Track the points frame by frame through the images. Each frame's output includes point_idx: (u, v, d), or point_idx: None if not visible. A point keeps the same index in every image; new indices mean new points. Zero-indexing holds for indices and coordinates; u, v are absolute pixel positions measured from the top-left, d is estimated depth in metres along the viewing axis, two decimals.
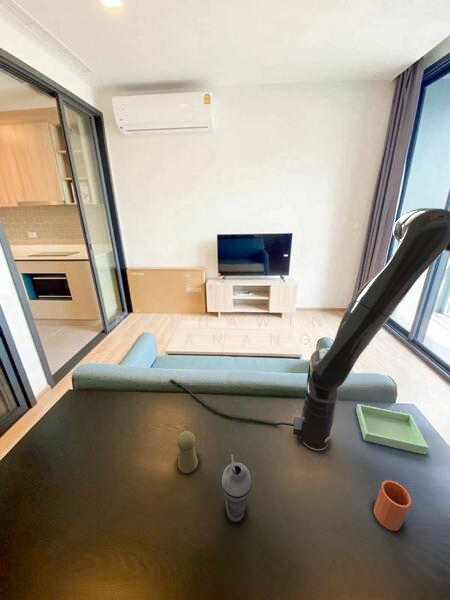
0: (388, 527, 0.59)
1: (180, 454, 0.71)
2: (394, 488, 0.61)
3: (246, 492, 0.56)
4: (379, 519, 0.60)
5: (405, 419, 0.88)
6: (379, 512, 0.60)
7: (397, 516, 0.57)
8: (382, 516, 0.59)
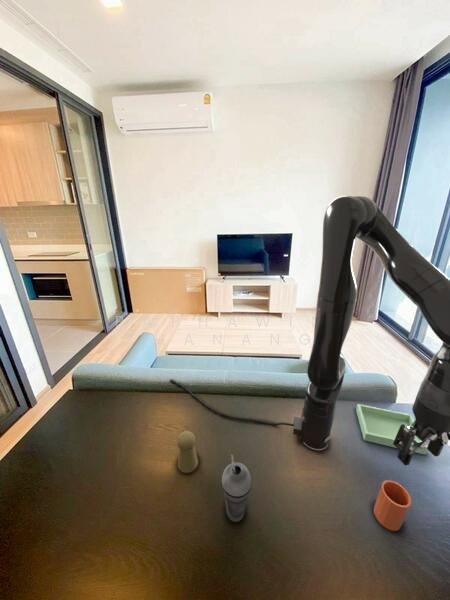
0: (388, 527, 0.59)
1: (180, 454, 0.71)
2: (394, 488, 0.61)
3: (246, 492, 0.56)
4: (379, 519, 0.60)
5: (405, 419, 0.88)
6: (379, 512, 0.60)
7: (397, 516, 0.57)
8: (382, 516, 0.59)
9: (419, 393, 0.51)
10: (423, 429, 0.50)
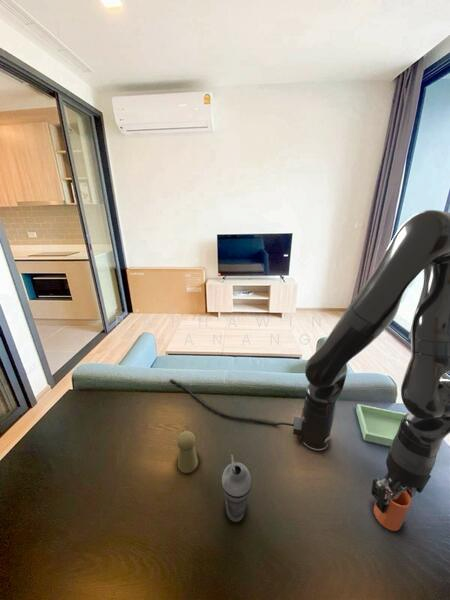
0: (388, 527, 0.59)
1: (180, 454, 0.71)
2: None
3: (246, 492, 0.56)
4: (379, 519, 0.60)
5: None
6: (379, 512, 0.60)
7: (397, 516, 0.57)
8: (382, 516, 0.59)
9: (391, 448, 0.55)
10: (393, 483, 0.54)
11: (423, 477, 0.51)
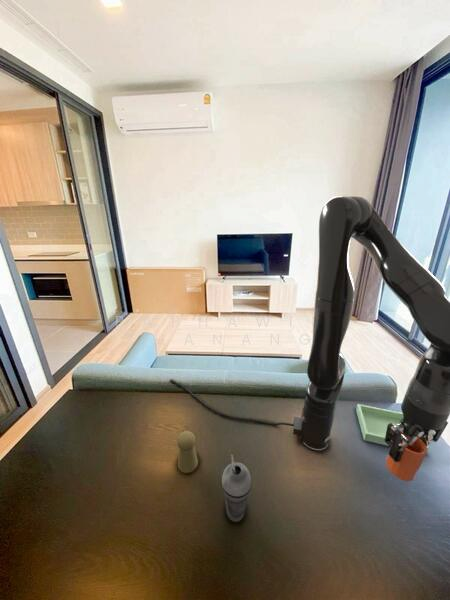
0: (401, 477, 0.56)
1: (180, 454, 0.71)
2: (408, 439, 0.58)
3: (246, 492, 0.56)
4: (392, 470, 0.58)
5: None
6: (392, 463, 0.57)
7: (412, 464, 0.54)
8: (395, 466, 0.57)
9: (407, 391, 0.52)
10: (409, 427, 0.52)
11: (442, 417, 0.48)
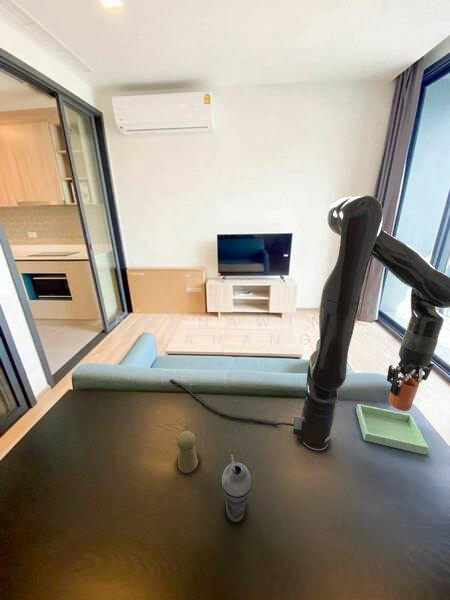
0: (400, 408, 0.75)
1: (180, 454, 0.71)
2: None
3: (246, 492, 0.56)
4: (393, 404, 0.76)
5: (405, 419, 0.88)
6: (393, 398, 0.76)
7: (407, 396, 0.73)
8: (395, 400, 0.75)
9: (403, 340, 0.71)
10: (405, 366, 0.70)
11: (428, 355, 0.67)
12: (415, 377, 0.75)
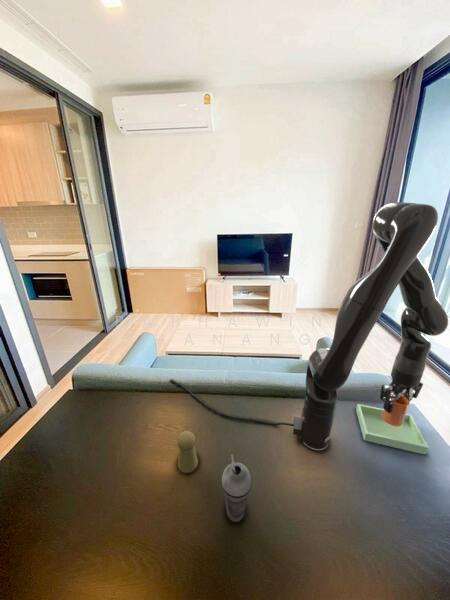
0: (392, 424, 0.81)
1: (180, 454, 0.71)
2: None
3: (246, 492, 0.56)
4: (386, 420, 0.82)
5: (405, 419, 0.88)
6: (386, 414, 0.82)
7: (399, 413, 0.79)
8: (388, 416, 0.81)
9: (394, 362, 0.77)
10: (396, 386, 0.76)
11: (417, 377, 0.73)
12: (406, 395, 0.81)
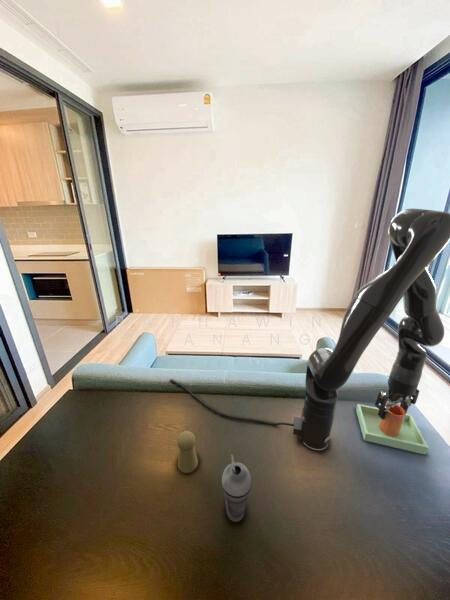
0: (389, 434, 0.82)
1: (180, 454, 0.71)
2: (393, 408, 0.84)
3: (246, 492, 0.56)
4: (383, 430, 0.84)
5: (405, 419, 0.88)
6: (383, 424, 0.84)
7: (395, 424, 0.80)
8: (385, 427, 0.83)
9: (391, 371, 0.78)
10: (393, 394, 0.78)
11: (413, 386, 0.74)
12: (405, 401, 0.82)
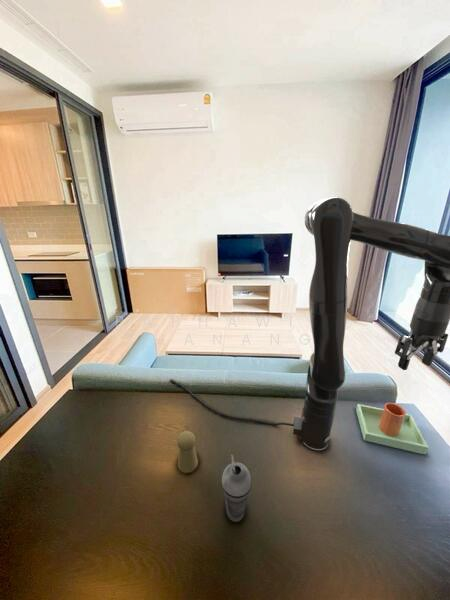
0: (389, 434, 0.82)
1: (180, 454, 0.71)
2: (393, 408, 0.84)
3: (246, 492, 0.56)
4: (383, 430, 0.84)
5: (405, 419, 0.88)
6: (383, 424, 0.84)
7: (395, 424, 0.80)
8: (385, 427, 0.83)
9: (415, 310, 0.66)
10: (418, 337, 0.65)
11: (443, 324, 0.62)
12: (430, 349, 0.70)
